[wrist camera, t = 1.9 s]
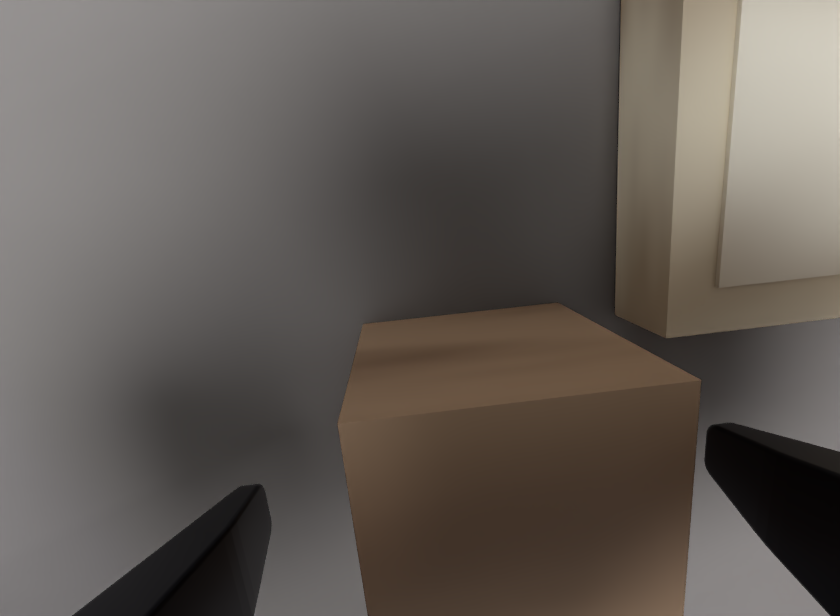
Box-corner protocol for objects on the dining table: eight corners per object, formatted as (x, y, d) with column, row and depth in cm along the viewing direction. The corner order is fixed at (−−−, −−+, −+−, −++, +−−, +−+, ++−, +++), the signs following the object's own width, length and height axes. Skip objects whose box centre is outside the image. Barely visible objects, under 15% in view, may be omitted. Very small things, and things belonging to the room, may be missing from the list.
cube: (559, 470, 12) (680, 656, 7) (385, 492, 11) (381, 702, 6) (556, 301, 10) (700, 380, 6) (363, 323, 10) (337, 423, 5)
